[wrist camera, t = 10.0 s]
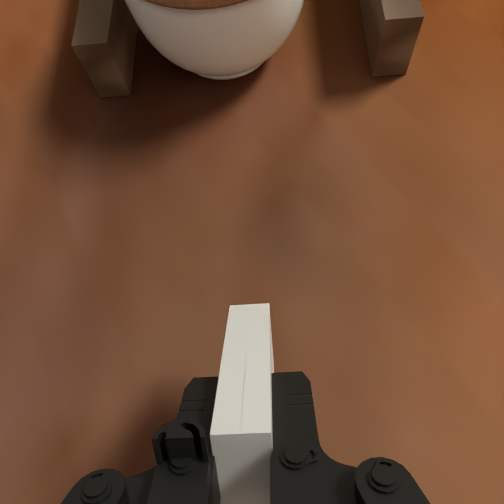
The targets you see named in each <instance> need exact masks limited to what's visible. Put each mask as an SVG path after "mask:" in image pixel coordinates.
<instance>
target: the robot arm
mask: <svg viewBox="0 0 504 504" xmlns="http://www.w3.org/2000/svg"><path fill="white" fill-rule="evenodd" d="M152 442H153V446H154V451H155V456H156V461H157V466H155V467H154V468H152V469H150V470H149V471H146V472H144V473H141V474H138V475H135V476H132V477H129V478H125V479H124V477H123V476H122V475H121V473H120V472H118V471H116V470H113V469H100V470H97V471H94V472H91V473H89V474H88V475H86V476H85V477H83V478H81V479H80V480H79V481H78V482H77V483H76V485H75V486H74V487H73V488H72V489H71V491H70V492H69V493H68V495H67V496H66V497H65V499H64V500H63V502H62V503H61V504H430V503H429V501H428V500H427V498H426V497H425V495H424V494H423V492H422V491H421V489H420V488H419V486H418V485H417V483H416V482H415V480H414V479H413V477H412V476H411V474H410V473H409V472H408V471H407V470H406V469H405V468H404V466H403V465H401V464H399V463H397V462H396V461H394V460H391V459H387V458H383V457H377V458H370V459H367V460H365V461H363V462H362V463H361V464H360V465H359V466H358V467H357V468H356V467H352V466H348V465H344V464H341V463H338V462H336V461H334V460H333V459H331V458H330V457H328V456H327V455H326V454H325V453H324V451H323V450H322V448H321V447H320V443H319V439H318V432H317V425H316V418H315V412H314V406H313V398H312V391H311V384H310V381H309V379H308V378H307V377H306V376H305V374H304V373H303V372H302V371H301V372H281V373H274V362H273V348H272V335H271V322H270V308H269V303H265V304H248V305H230V309H229V315H228V322H227V328H226V334H225V341H224V347H223V354H222V360H221V366H220V373H219V377H200V378H193V379H192V381H191V382H190V383H189V384H188V385H187V386H186V388H185V390H184V393H183V397H182V403H181V405H180V409H179V413H178V417H177V420H174V421H171V422H169V423H167V424H165V425H163V426H162V427H161V428H160V429H159V430H157V431H156V433H155V435H154V437H153V438H152Z"/></svg>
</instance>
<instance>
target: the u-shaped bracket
mask: <svg viewBox="0 0 504 504" xmlns="http://www.w3.org/2000/svg"><path fill="white" fill-rule="evenodd" d="M359 5H360V11H361V17H362V22H363V28H364V34H365V40H366V45H367V51H368V57H369V62H370V68H371V74H372V77H380V76H393V75H405V74H406V71H407V68H408V65H409V62H410V59H411V56H412V53H413V49H414V46H415V43H416V40H417V37H418V34H419V31H420V28H421V25H422V21H423V18H424V14H423V11H422V7H421V3H420V0H359ZM137 31H138V25H137V23H136V21H135V20H134V18H133V16H132V14H131V12H130V10H129V8H128V7H127V5H126V2H125V0H80V1H79V7H78V12H77V18H76V23H75V28H74V34H73V39H72V45H71V46H72V48H73V50H74V52H75V53H76V55H77V57H78V59H79V61H80V63H81V64H82V66H83V68H84V70H85V72H86V73H87V75H88V77H89V79H90V81H91V83H92V84H93V86H94V88H95V90H96V92H97V94H98V95H99V97H100V98H102V97H115V96H128V95H131V89H132V79H133V70H134V60H135V50H136V41H137Z"/></svg>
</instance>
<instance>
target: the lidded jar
mask: <svg viewBox="0 0 504 504" xmlns="http://www.w3.org/2000/svg"><path fill="white" fill-rule="evenodd" d="M125 2H126V5H127V7H128V8H129V10H130V12H131V14H132V16H133V18H134V20H135V21H136V23H137V25H138V27H139V28H140V30H141V31H142V33H143V34H144V36H145V37H146V39H147V40H148V41H149V42H150V43H151V44H152V45H153V46H154V48H155V49H156V50H157V51H158V52H159V53H160V54H161V55H163V56H164V57H165V58H167V59H168V60H169V61H171V62H172V63H174V64H175V65H177V66H179V67H181V68H183V69H185V70H188V71H191V72H194V73H195V74H197V75H199V76H202V77H205V78H209V79H214V80H229V79H235V78H238V77H242V76H245V75H247V74H249V73H251V72H253V71H254V70H256V69H257V68H258V67H260V66H261V65H262V64H263V63H264V62H265V61H266V60H267V59H269V58H270V57H271V56H272V55H273V54H275V53H276V52H277V51H278V49H279V48H280V47H281V46H282V45H283V44H284V42H285V41H286V40H287V38H288V37H289V35H290V34H291V32H292V30H293V28H294V26H295V24H296V22H297V20H298V17H299V15H300V12H301V9H302V5H303V2H304V0H125Z"/></svg>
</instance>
